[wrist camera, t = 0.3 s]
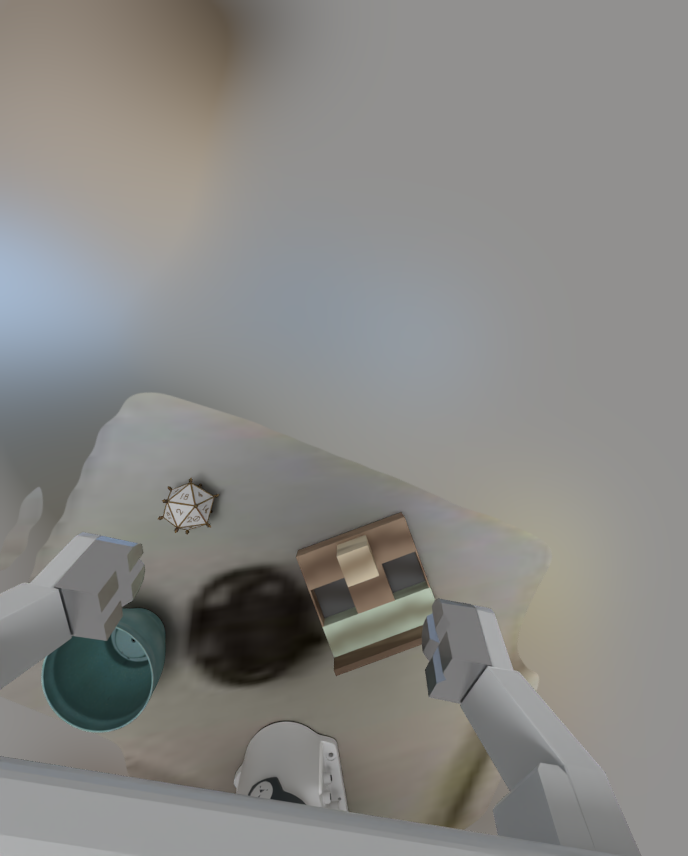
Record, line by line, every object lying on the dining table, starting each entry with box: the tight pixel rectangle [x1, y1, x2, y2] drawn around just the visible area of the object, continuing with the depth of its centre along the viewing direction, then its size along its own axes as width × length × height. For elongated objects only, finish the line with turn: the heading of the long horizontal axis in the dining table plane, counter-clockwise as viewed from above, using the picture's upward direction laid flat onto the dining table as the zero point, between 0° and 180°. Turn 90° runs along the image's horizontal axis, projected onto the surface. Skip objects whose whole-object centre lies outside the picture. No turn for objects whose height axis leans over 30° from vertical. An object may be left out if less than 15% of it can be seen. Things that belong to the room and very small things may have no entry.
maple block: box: [337, 535, 379, 587], centre depth 58 cm, size 5×5×5 cm
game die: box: [158, 478, 219, 534], centre depth 59 cm, size 9×8×10 cm
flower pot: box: [41, 608, 166, 733], centre depth 58 cm, size 16×16×11 cm
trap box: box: [296, 512, 435, 676], centre depth 60 cm, size 19×19×6 cm
